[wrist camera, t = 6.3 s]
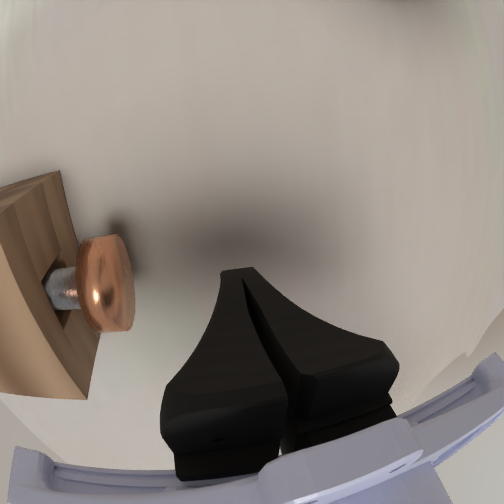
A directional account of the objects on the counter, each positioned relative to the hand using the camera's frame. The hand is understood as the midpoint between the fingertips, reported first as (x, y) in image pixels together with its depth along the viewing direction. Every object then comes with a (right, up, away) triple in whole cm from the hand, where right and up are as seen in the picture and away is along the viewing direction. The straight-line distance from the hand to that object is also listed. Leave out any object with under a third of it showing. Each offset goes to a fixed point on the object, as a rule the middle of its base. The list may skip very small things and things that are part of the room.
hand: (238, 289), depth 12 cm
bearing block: (-13, +1, +2) cm, 13 cm away
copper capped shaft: (-11, +1, +1) cm, 11 cm away
